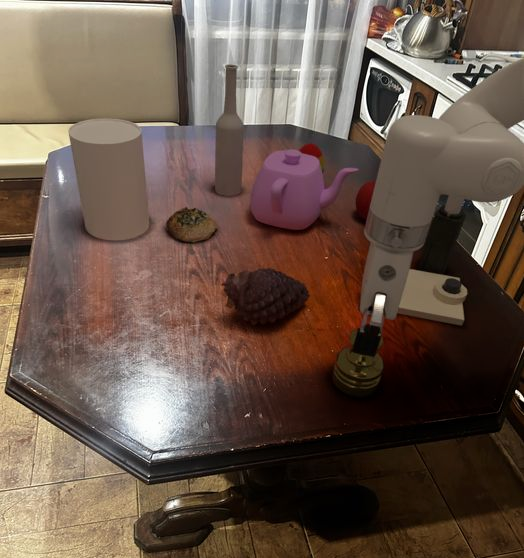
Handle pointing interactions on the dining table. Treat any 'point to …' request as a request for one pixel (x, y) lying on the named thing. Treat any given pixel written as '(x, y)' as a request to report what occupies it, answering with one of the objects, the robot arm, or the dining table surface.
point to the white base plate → (431, 298)
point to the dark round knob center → (452, 286)
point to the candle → (442, 236)
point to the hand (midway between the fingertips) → (365, 331)
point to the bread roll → (191, 225)
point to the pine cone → (264, 294)
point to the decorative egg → (313, 153)
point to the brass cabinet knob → (357, 370)
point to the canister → (110, 177)
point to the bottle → (229, 141)
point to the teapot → (292, 190)
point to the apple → (365, 199)
